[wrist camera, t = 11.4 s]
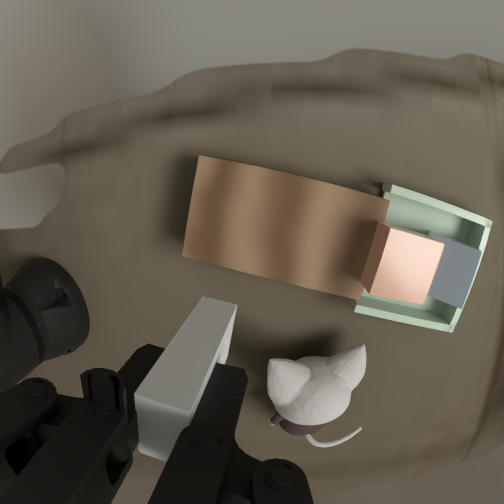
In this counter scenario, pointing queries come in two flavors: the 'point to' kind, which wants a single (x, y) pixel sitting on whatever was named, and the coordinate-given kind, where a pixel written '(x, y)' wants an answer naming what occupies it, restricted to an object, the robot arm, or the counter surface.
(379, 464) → the counter surface
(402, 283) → the tile
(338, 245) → the board
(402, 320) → the tray
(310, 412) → the toy
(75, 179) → the counter surface
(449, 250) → the tile
